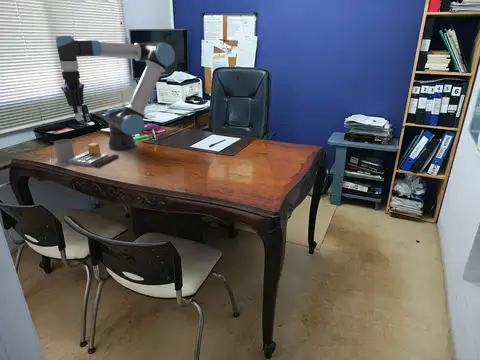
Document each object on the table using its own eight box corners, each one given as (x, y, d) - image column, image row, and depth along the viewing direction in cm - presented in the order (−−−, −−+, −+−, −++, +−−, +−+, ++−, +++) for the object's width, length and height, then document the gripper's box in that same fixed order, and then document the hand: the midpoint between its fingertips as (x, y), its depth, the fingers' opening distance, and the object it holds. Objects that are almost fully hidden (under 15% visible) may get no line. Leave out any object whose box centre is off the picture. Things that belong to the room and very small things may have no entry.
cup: (56, 162, 179) (52, 144, 175) (59, 157, 186) (55, 139, 182) (73, 161, 181) (70, 143, 177) (76, 156, 188) (72, 138, 184)
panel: (87, 155, 190) (86, 150, 189) (108, 157, 186) (108, 152, 185) (68, 163, 178) (67, 158, 177) (91, 166, 174) (90, 161, 173)
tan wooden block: (94, 152, 188) (92, 142, 186) (100, 153, 187) (98, 143, 185) (89, 154, 184) (87, 144, 182) (95, 155, 183) (93, 145, 181)
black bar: (113, 156, 188) (113, 154, 187) (118, 157, 187) (118, 154, 186) (93, 167, 173) (92, 164, 172) (98, 167, 172) (98, 164, 171)
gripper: (73, 69, 169) (81, 116, 178) (53, 71, 158) (63, 122, 167) (86, 69, 167) (94, 117, 176) (66, 71, 156) (76, 123, 165)
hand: (79, 119), depth 171 cm, fingers closed
